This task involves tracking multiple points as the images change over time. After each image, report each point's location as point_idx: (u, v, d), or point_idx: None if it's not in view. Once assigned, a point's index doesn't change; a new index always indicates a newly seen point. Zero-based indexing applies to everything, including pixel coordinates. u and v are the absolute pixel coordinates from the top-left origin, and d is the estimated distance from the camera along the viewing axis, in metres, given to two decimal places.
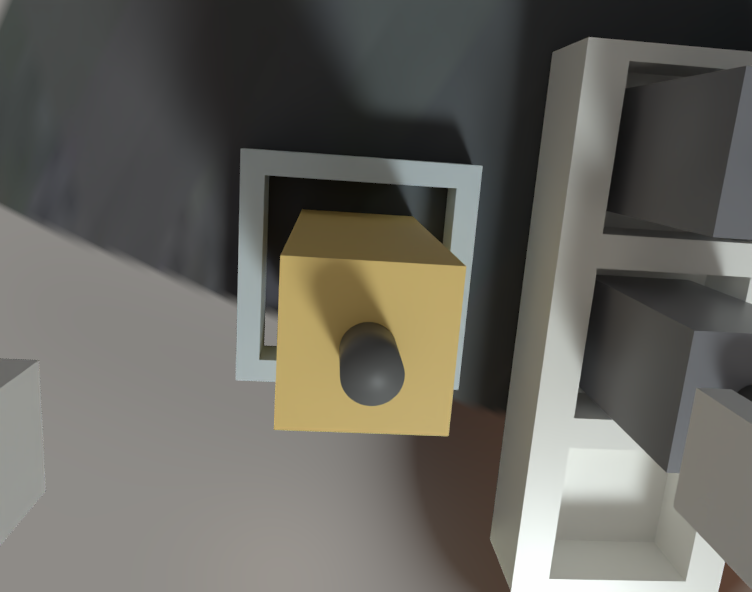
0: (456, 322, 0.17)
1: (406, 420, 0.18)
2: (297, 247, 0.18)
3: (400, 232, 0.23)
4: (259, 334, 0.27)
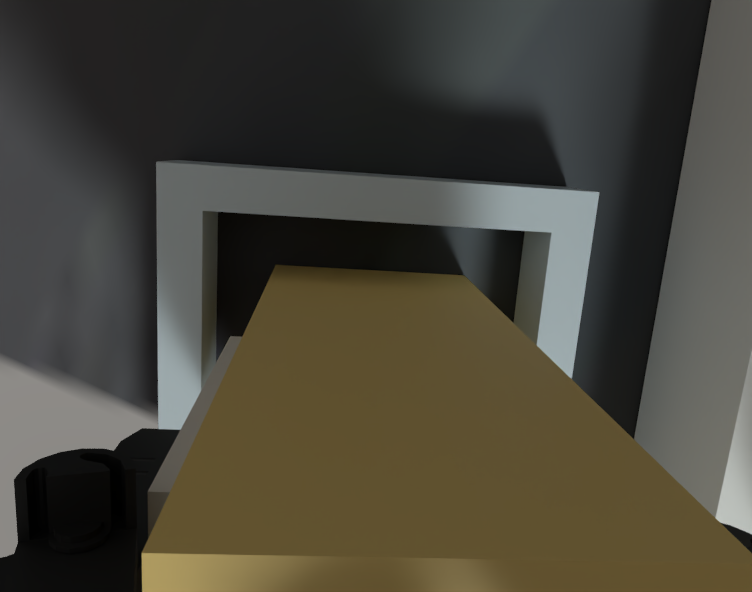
0: None
1: None
2: (222, 463, 0.06)
3: (467, 337, 0.11)
4: None
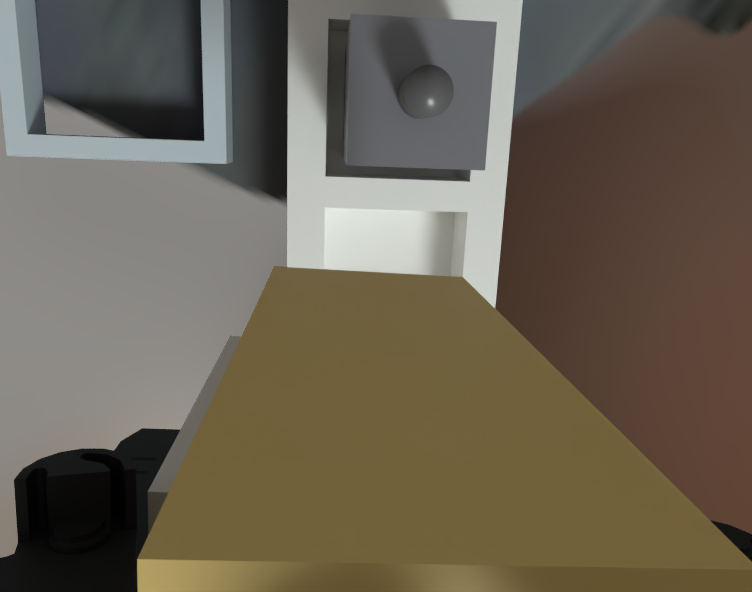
0: None
1: None
2: (219, 467, 0.06)
3: (465, 340, 0.11)
4: (25, 108, 0.29)
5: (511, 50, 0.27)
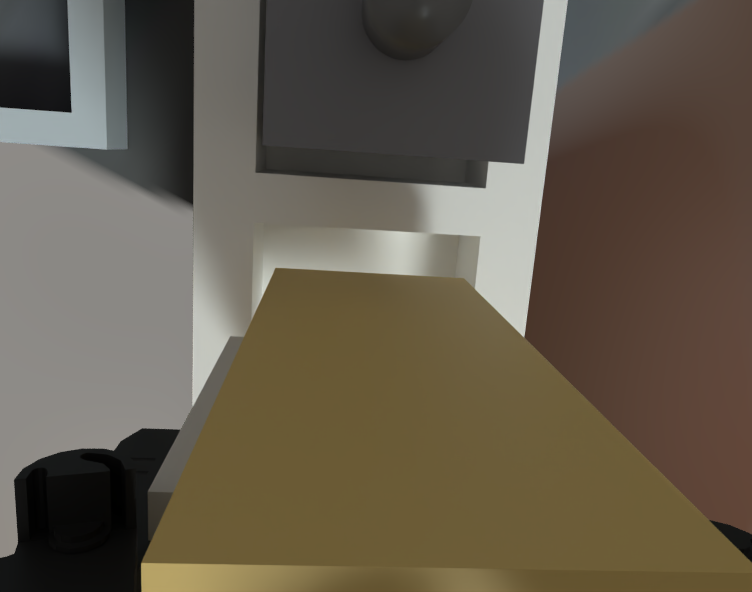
0: None
1: None
2: (222, 470, 0.06)
3: (467, 341, 0.11)
4: None
5: None
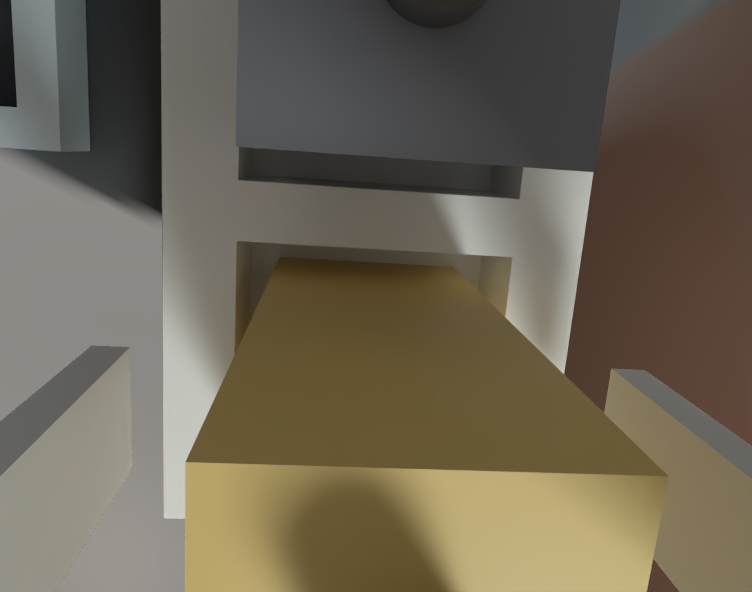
0: None
1: None
2: (242, 406, 0.08)
3: (451, 317, 0.13)
4: None
5: None
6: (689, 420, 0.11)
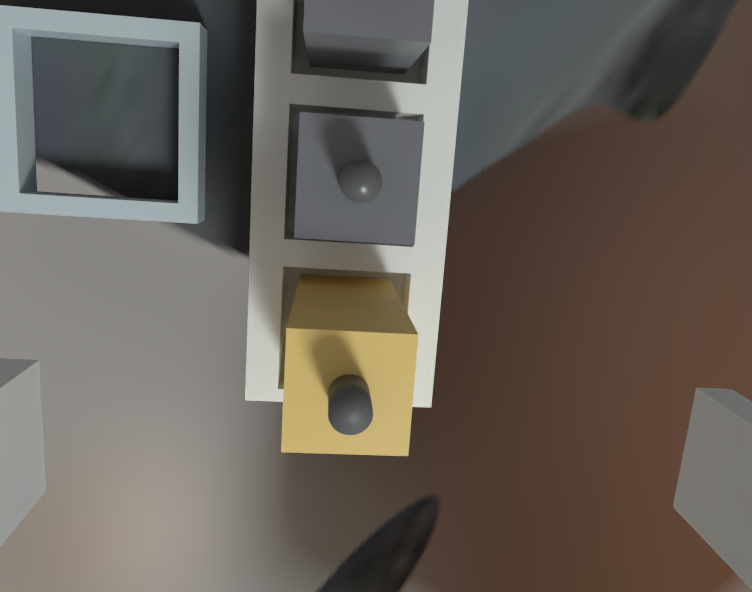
0: (412, 373, 0.24)
1: (377, 444, 0.25)
2: (298, 319, 0.25)
3: (376, 299, 0.30)
4: (18, 170, 0.32)
5: (450, 134, 0.31)
6: None
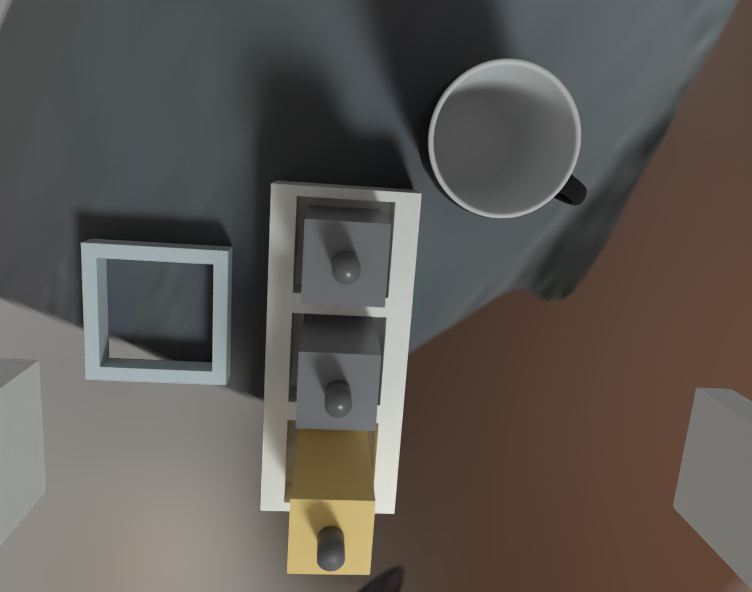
0: (371, 524, 0.38)
1: (349, 568, 0.38)
2: (297, 486, 0.38)
3: (352, 451, 0.43)
4: (99, 351, 0.45)
5: (405, 330, 0.44)
6: None
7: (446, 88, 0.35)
